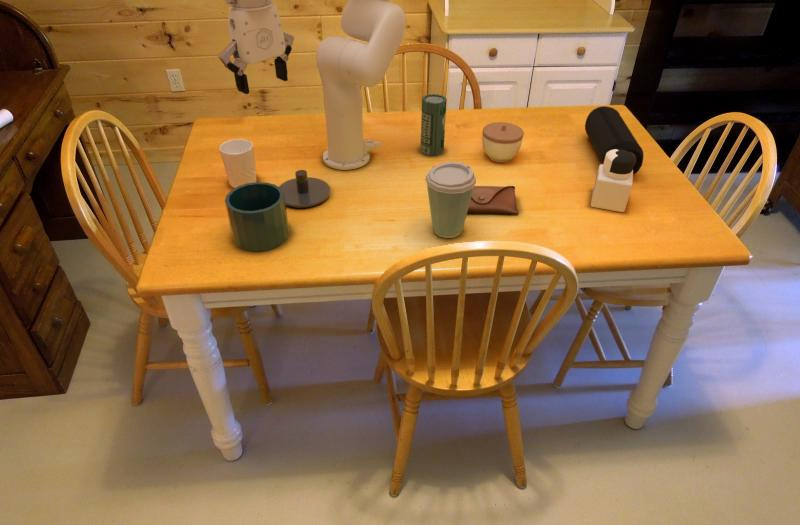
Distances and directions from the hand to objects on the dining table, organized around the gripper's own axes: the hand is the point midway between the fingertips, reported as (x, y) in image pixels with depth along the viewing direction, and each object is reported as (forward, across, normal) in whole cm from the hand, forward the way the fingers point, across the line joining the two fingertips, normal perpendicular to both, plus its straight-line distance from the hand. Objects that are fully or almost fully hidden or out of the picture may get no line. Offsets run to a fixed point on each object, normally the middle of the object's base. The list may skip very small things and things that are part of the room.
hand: (263, 85), depth 117 cm
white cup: (+28, -2, +13) cm, 31 cm away
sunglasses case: (+28, +32, -36) cm, 56 cm away
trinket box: (+28, +55, -25) cm, 67 cm away
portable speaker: (+28, +75, -46) cm, 93 cm away
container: (+28, +55, -57) cm, 84 cm away
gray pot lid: (+28, +5, -2) cm, 28 cm away
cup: (+28, -12, -8) cm, 32 cm away
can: (+28, +44, -10) cm, 54 cm away
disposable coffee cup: (+28, +19, -37) cm, 50 cm away
